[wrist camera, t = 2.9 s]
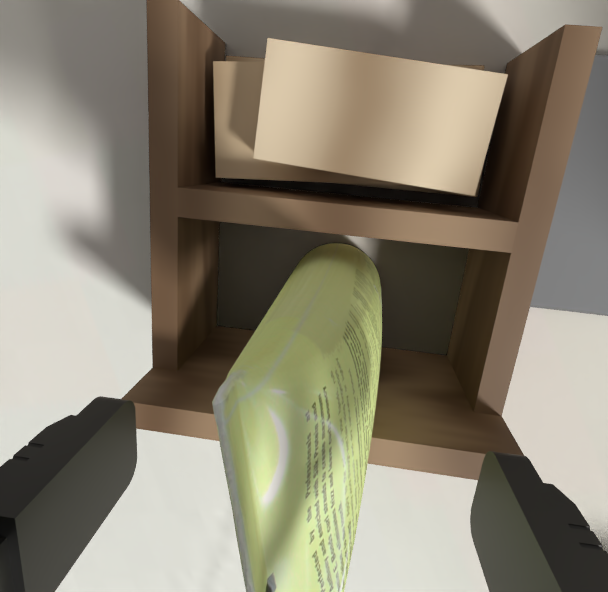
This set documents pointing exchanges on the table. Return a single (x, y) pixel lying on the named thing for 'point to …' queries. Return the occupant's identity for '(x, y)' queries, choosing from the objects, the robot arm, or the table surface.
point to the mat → (581, 213)
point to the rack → (364, 223)
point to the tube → (304, 423)
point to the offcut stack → (353, 119)
